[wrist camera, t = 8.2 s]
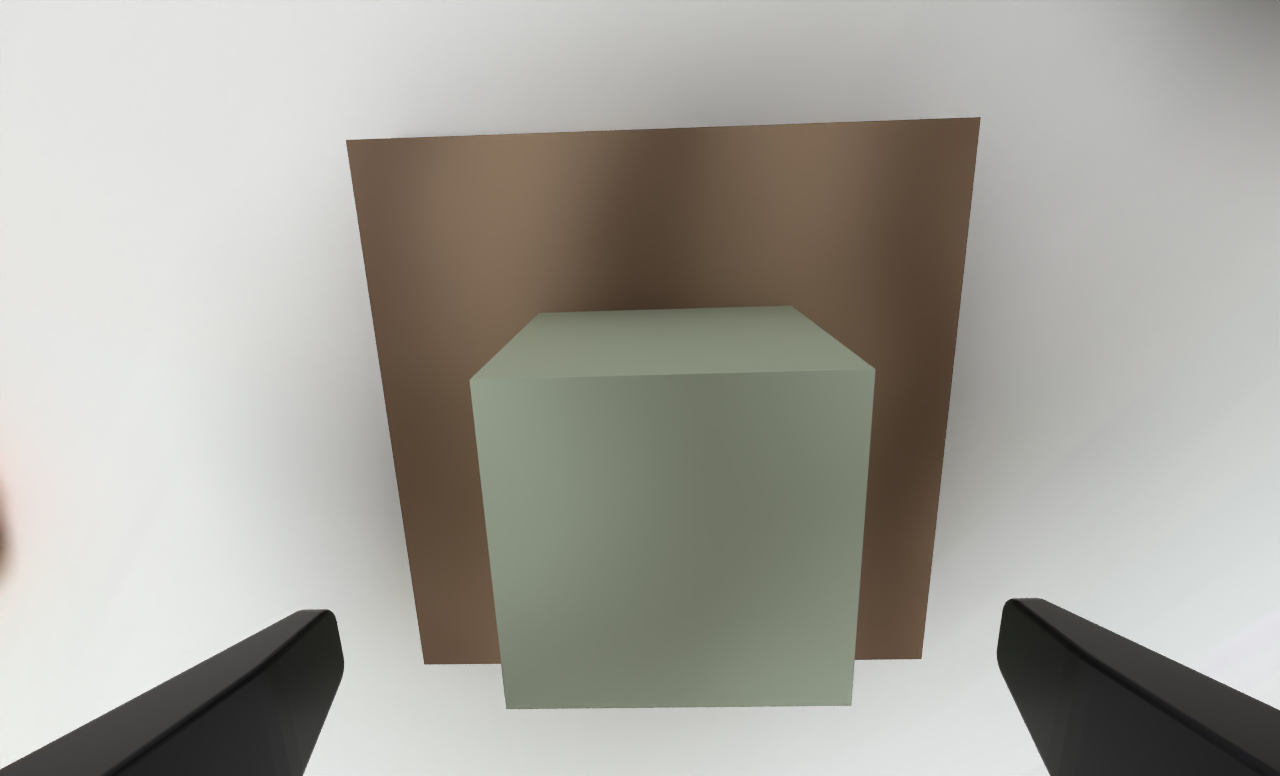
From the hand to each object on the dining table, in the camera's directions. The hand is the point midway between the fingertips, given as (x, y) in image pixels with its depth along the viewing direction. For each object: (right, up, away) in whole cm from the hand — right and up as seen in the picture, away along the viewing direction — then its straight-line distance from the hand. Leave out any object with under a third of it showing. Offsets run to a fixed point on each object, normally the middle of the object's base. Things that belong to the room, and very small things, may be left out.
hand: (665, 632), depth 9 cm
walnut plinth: (0, +3, +10) cm, 10 cm away
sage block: (0, +2, +7) cm, 8 cm away
